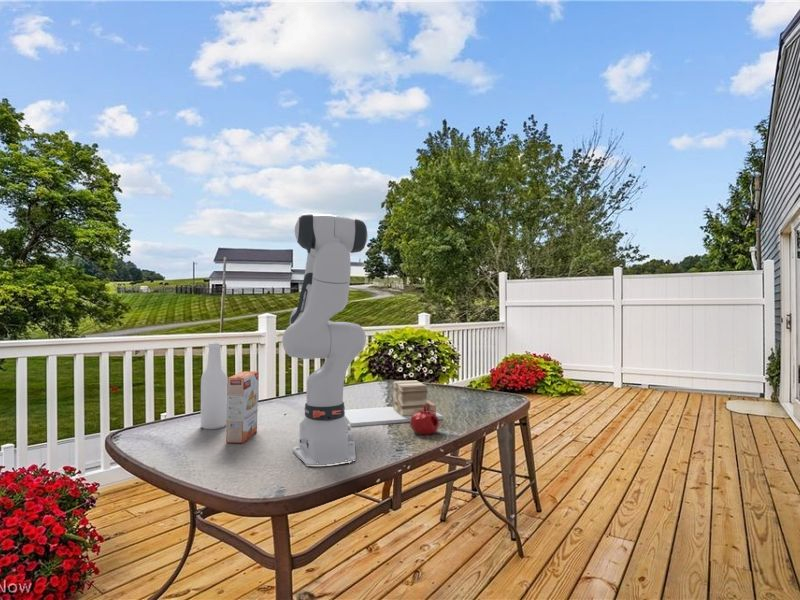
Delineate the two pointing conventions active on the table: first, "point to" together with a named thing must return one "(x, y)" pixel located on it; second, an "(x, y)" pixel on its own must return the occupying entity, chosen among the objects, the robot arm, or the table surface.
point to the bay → (381, 415)
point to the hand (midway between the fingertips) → (362, 348)
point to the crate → (409, 397)
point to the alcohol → (214, 391)
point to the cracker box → (241, 406)
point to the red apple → (424, 422)
